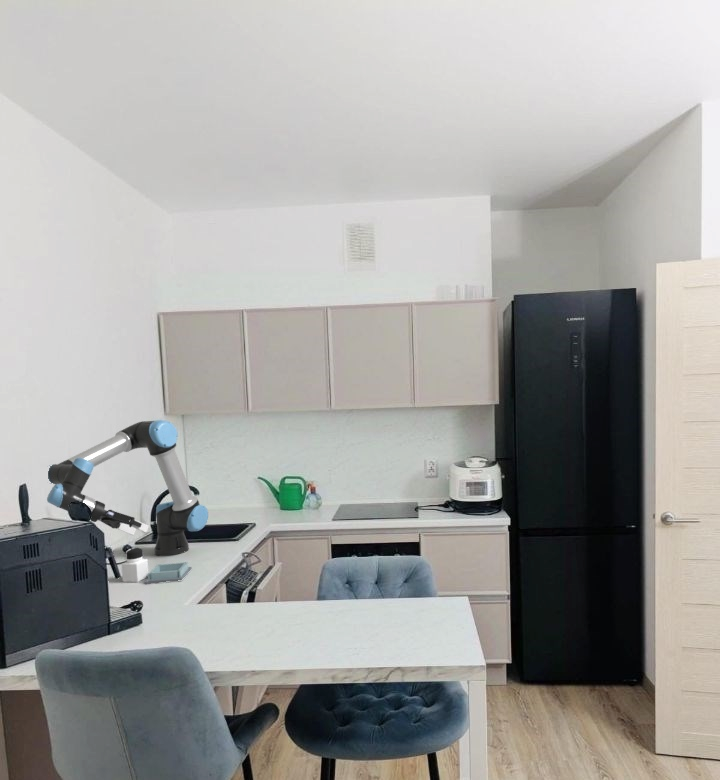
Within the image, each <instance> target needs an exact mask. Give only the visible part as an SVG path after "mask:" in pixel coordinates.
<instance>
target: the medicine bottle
mask: <svg viewBox="0 0 720 780" xmlns="http://www.w3.org/2000/svg"><path fill="white" fill-rule="evenodd" d="M125 557H126V558H125V559H126V561H125V562H122V563H121V577H122V582H124V583H139V582H141V581H143V580H145V579H148V573H149V572H150V571H149V560H148V558H143V548H140V547H134V548H129V549H128V550H126V551H125Z"/></svg>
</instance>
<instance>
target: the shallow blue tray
mask: <svg viewBox="0 0 720 780" xmlns="http://www.w3.org/2000/svg"><path fill="white" fill-rule="evenodd" d="M191 569H192V566H189V561H186V562H174V563H161V564H156V565H155V566H154V567H153V568H152V569H151V570H150V571H148V572H149V573H148V577H147V578H146V580H145V581H144V585H152V584H151V583H155V584H159V583H158V582H166V581H178V580H182V579H183V578H184V577H185V576H186V575H187V576H188V574H189V573H190V572H191V571H192V570H191ZM190 570H191V571H190ZM189 571H190V572H189ZM188 572H189V573H188ZM187 573H188V574H187ZM187 576H186V577H187ZM186 577H185V578H186ZM185 578H184V579H185ZM184 579H183V580H184ZM183 580H182V581H183ZM178 582H179V581H178ZM166 583H167V582H166Z"/></svg>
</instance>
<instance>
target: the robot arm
mask: <svg viewBox="0 0 720 780" xmlns="http://www.w3.org/2000/svg"><path fill="white" fill-rule="evenodd" d="M178 437H179V436H178V430H177V428H176V426H175V424H173V423H172V422H170V421H168V420H162V419H157V420H146V421H143V420H141V421H139V422H136V423H134V424H130V425H129V426H127V427H125V428H123V429H121V430H119V431H117V432H116V433H115V434H114V436H113V437H111V438H108V439H106V440H105V441H102V442H100V443H99V444H96V445H94V446H92V447H90V448H88V449H86V450H85V451H82V452H79V453H78V454H76V455H74V456H72V457H70V458H68V459H66V460H63V461H61V462H59V463H55V464H51V465H52V466H50V465H49V466H50V468H49V471H48V479H49V481H50V482H51V483H50V484H52V483H53V486H52V488H51V490H50V491H49V493H48V495H47V498H46V500H47V503H49V504H51V506H52V505H53V506H55V507H56V508H59V509H62V510H64V511H67V512H69V511H68V505H69V504H70V503H71V502H73V501H79V502H82V503H85V504H86V505H87V506H88V507H89V508H90V509H91V511H92V518H91V522H93V523H96V522H97V521H99V522H101V523H103V524H104V525H106V526H108V527H110V528H112V529H116V530H117V529H118V530H120V531H122V532H124V533H126V534H129V535H132V536H134V535H135V533H136V531H137V530H139V531H141V532H144V533H147V532H148V530H149V529H150V525H148V524H146V523H144V522H141V521H140V520H138V519H136V518H135V517H134V516H130V515H127V514H125V513H121V512H118V511H114V510H112V509H108V510H106V509H105V508H106V504H105V503H104V502H102V501H99V500H95V499H94V498H92V497H90V496H88V495H85V494H83V493H82V491H83V490H84V488H85V486H86V485H87V482H88V480H89V478H90V477H91V475H92V472H93V470H94V467H97V466H99V465H100V464H102V463H105V462H106V461H108V460H110V459H112V458H114V457H115V456H118V455H119V454H122V453H129V452H130V451H132V450H135V449H143V448H144V449H145V448H147V451H148V452H149V455H150V456H151V457H153V458H155V461H156V462H157V465H158V467H159V470H160V472H161V475H162V477H163V479H164V482H165V485H166V487H167V489H168V493H169V494H170V497H171V500H172V501H168V502H163V503H162V502H161V503H159V504H157V505H156V507H155V509H156V510H155V515H156V516H155V517H156V529H157V539H156V542H155V545H154V546H155V547H154V554H155V555H156V556H160V555H166V556H173V555H172V554H174V555H178V553H179V554H182V553H181V552H183V553H185V552H184V551H186V552H187V551H189V550H188V549H190V547H189V546H190V545H189V542H188V540H187V538H186V535H185V531H187V532H198V531H201V530H202V529H203V528H205V527H206V524H207V523H208V520H209V510H208V508H207V507H206V506H205V505H203V504H200V501H199V499H198V497H197V496H194V495H193V494H192V491H191V488H190V486H189V483H188V481H187V478H186V476H185V472H184V470H183V469H182V468H183V467H182V465H181V463H180V460H179V457H178V455H177V453H176V447H177V441H178Z"/></svg>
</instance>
